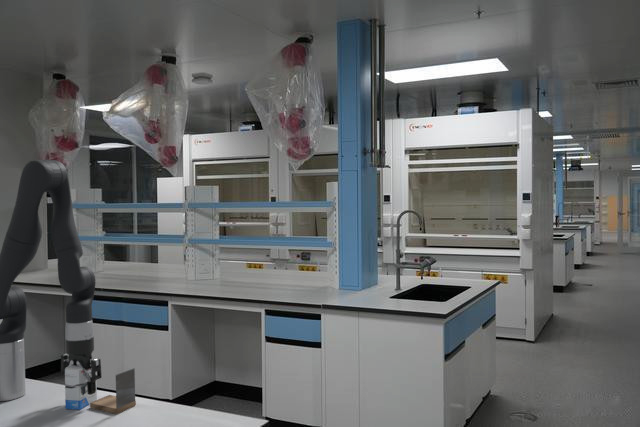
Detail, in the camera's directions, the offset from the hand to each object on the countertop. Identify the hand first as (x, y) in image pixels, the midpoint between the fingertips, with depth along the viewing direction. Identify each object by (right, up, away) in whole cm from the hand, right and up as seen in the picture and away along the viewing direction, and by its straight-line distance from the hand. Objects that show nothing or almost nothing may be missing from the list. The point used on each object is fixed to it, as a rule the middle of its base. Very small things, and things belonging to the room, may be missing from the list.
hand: (81, 391), depth 162 cm
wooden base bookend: (+10, -4, -2) cm, 11 cm away
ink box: (0, -4, 0) cm, 4 cm away
